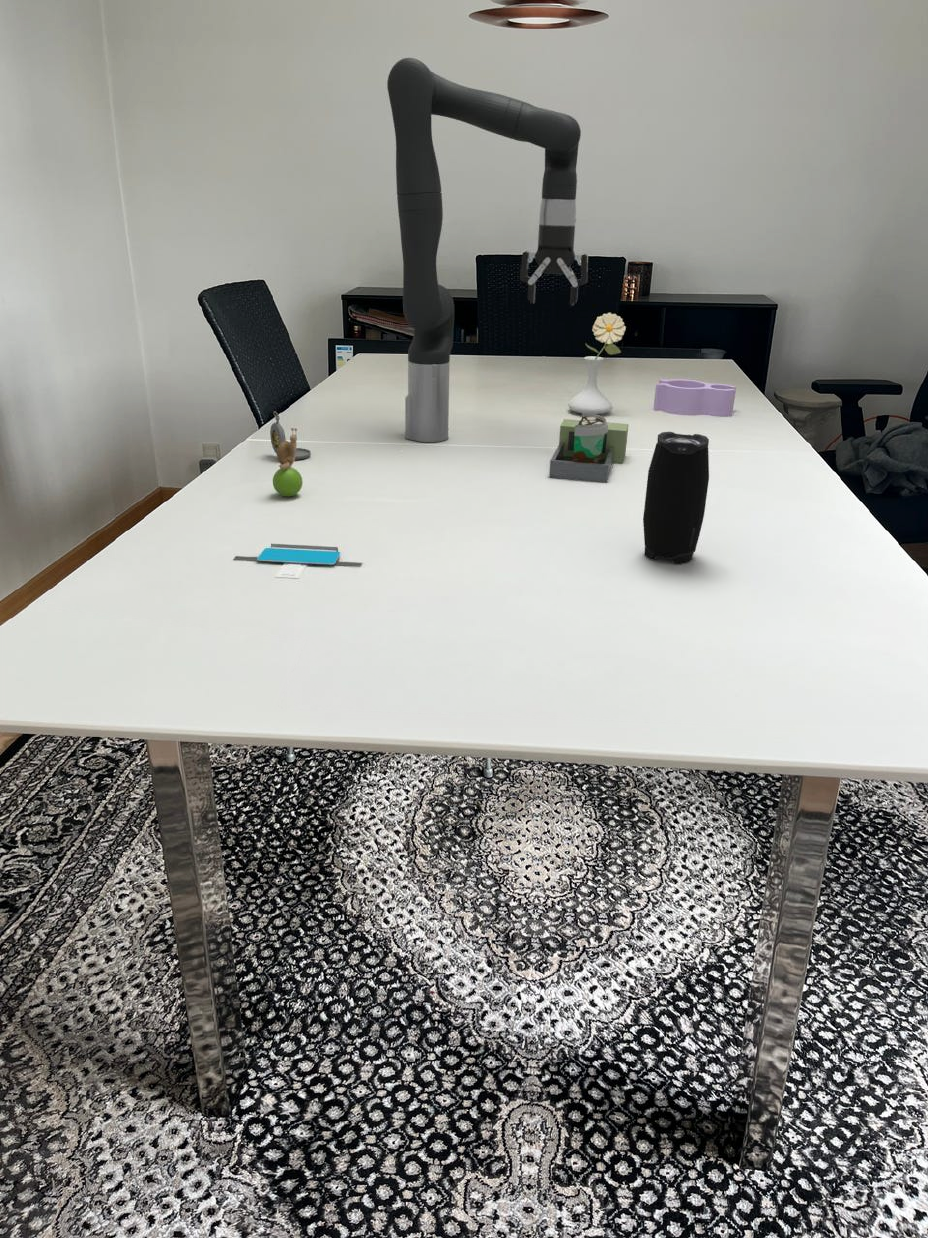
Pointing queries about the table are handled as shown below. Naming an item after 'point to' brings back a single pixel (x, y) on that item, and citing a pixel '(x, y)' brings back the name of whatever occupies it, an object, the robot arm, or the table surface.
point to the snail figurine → (287, 469)
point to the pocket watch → (284, 439)
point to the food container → (589, 438)
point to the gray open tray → (580, 467)
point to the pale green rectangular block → (611, 438)
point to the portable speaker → (676, 496)
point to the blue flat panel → (298, 558)
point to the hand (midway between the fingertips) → (552, 304)
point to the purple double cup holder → (694, 398)
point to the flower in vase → (591, 397)
